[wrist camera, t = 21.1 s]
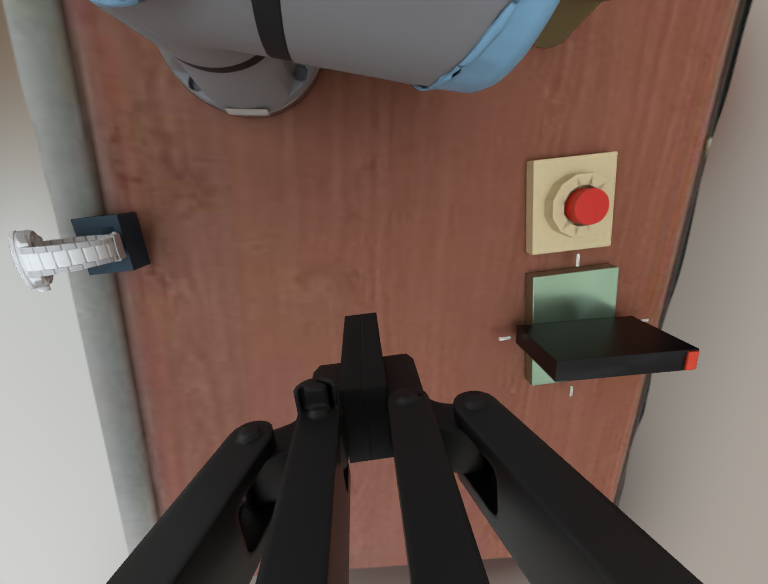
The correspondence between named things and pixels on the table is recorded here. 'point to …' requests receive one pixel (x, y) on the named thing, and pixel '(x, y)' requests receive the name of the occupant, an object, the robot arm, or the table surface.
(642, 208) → the table surface
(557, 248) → the button box
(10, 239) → the watch
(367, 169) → the table surface
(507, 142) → the table surface
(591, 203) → the red push button
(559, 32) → the olive pawn
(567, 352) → the black panel
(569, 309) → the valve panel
